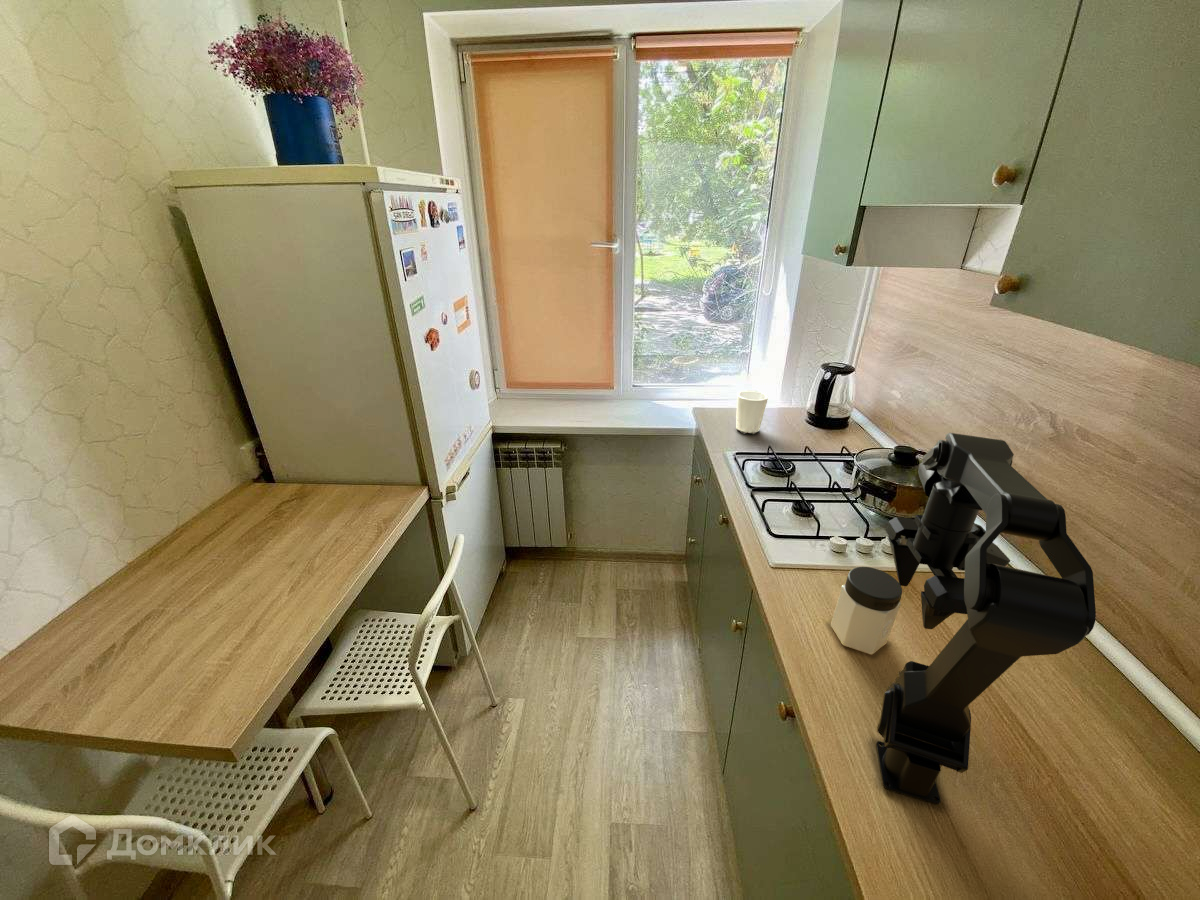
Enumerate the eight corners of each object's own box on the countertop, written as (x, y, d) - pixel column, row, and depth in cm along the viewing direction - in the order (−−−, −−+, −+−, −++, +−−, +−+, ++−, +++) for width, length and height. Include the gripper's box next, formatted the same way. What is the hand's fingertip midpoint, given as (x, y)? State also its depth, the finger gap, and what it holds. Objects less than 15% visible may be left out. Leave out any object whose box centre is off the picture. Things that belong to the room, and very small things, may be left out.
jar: (865, 662, 81) (884, 608, 76) (821, 630, 87) (836, 578, 82) (894, 639, 86) (914, 586, 80) (850, 610, 92) (866, 559, 87)
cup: (731, 424, 172) (735, 389, 166) (759, 425, 170) (765, 391, 165) (734, 435, 163) (739, 399, 157) (764, 437, 162) (770, 401, 156)
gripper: (1057, 570, 58) (1008, 663, 65) (976, 491, 75) (944, 572, 82) (955, 559, 60) (918, 651, 67) (898, 485, 77) (873, 564, 83)
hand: (914, 605), depth 75 cm, fingers open, 9 cm apart
